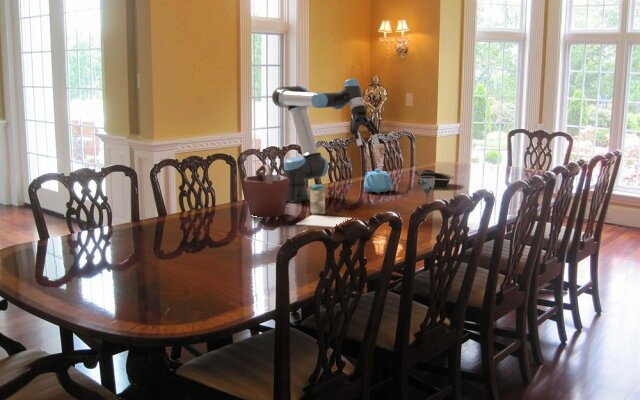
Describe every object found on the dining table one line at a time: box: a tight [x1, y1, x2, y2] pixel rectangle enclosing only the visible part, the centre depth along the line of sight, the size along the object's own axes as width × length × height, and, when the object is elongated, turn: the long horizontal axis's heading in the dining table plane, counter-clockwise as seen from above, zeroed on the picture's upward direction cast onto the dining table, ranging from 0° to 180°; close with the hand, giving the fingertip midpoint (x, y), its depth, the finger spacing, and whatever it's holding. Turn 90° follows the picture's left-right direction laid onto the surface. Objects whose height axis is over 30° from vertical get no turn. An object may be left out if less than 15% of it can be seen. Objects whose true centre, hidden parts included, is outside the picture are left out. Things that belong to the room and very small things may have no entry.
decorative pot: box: [363, 168, 393, 195], centre depth 401 cm, size 16×16×14 cm
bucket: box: [243, 164, 289, 218], centre depth 339 cm, size 24×22×25 cm
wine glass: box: [419, 176, 435, 203], centre depth 360 cm, size 8×8×15 cm
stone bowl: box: [414, 169, 456, 189], centre depth 418 cm, size 25×25×9 cm
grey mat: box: [295, 214, 359, 228], centre depth 324 cm, size 24×20×1 cm
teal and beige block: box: [309, 183, 326, 215], centre depth 344 cm, size 6×6×14 cm
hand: (369, 146), depth 345 cm, fingers open, 13 cm apart
